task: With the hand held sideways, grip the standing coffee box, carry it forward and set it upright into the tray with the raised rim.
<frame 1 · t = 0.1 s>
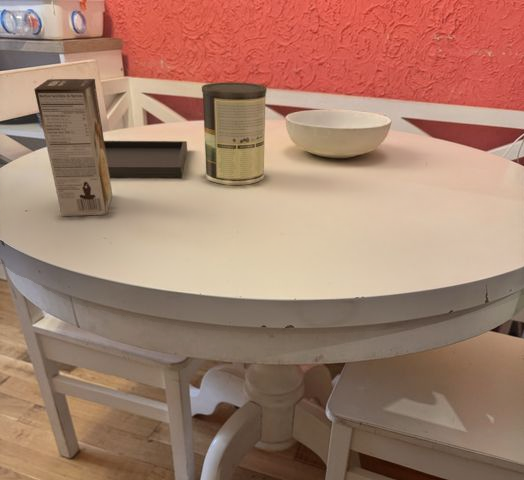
serving bowl: (334, 154, 103), on the table
coffee can: (235, 177, 87), on the table
tray: (137, 162, 93), on the table
coffee box: (88, 206, 73), on the table
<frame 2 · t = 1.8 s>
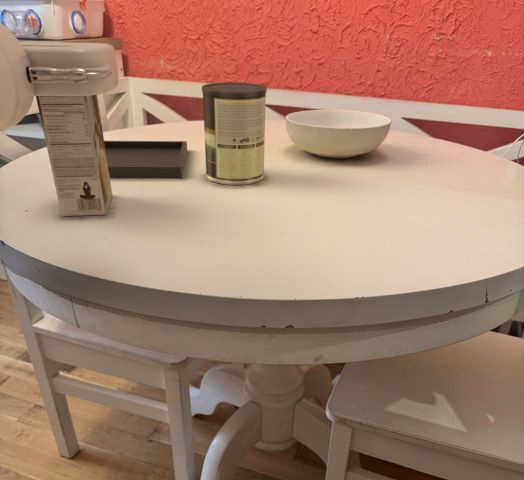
hand: (25, 59, 51), 20 cm above the table, tool horizontal, fingers open, 8 cm apart
nothing on the table moved.
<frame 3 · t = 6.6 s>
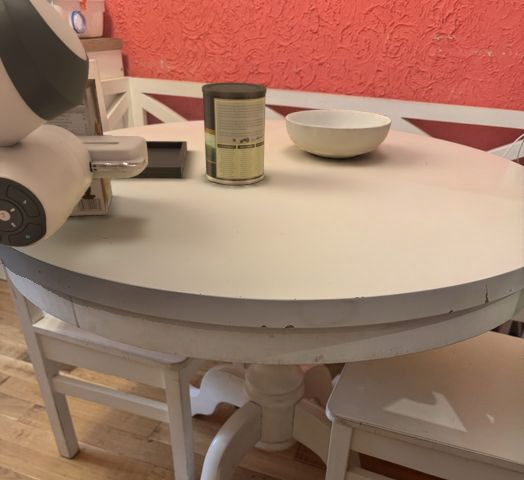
hand: (78, 140, 69), 9 cm above the table, tool horizontal, fingers closed on coffee box, 6 cm apart
coffee box: (88, 206, 73), on the table, touching gripper
everything else where it was.
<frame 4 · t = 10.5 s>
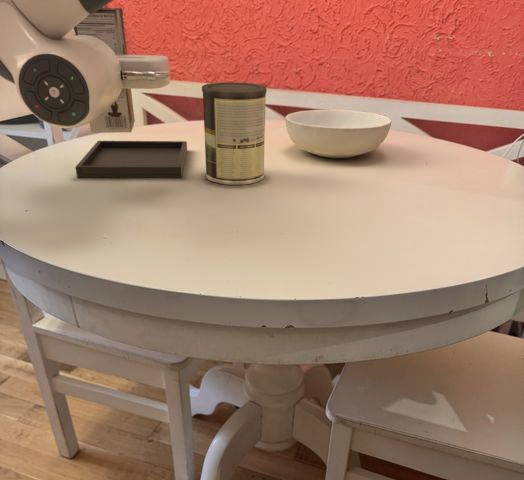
hand: (106, 64, 77), 17 cm above the table, tool horizontal, fingers closed on coffee box, 6 cm apart
coffee box: (114, 128, 81), point 8 cm above the table, touching gripper
everything else where it was.
when the fingers open (9 cm above the table, at t = 14.4 s): coffee box stays where it is, resting on tray.
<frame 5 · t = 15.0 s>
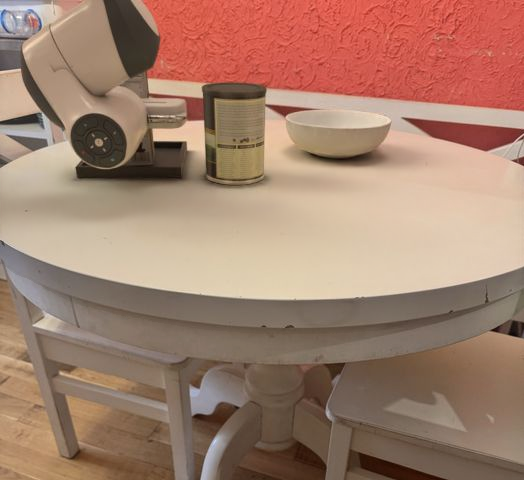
hand: (131, 104, 88), 10 cm above the table, tool horizontal, fingers open, 8 cm apart
coffee box: (137, 160, 93), resting on tray
everything else where it was.
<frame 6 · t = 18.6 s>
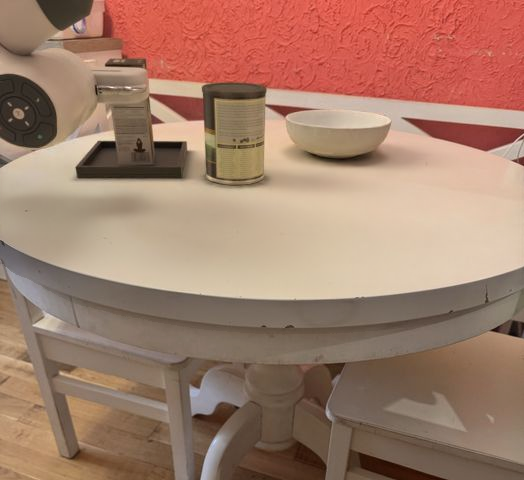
hand: (83, 76, 73), 16 cm above the table, tool horizontal, fingers open, 8 cm apart
nothing on the table moved.
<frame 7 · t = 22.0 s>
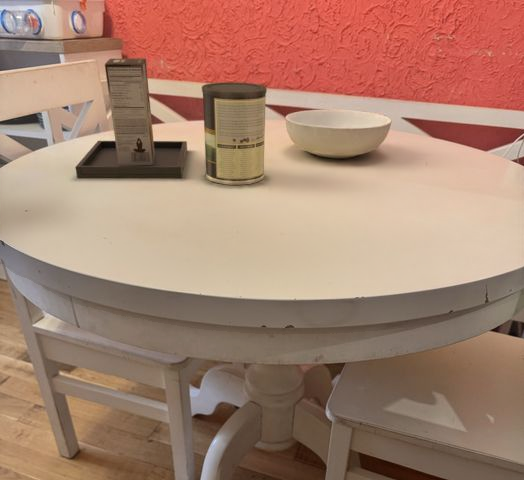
nothing on the table moved.
at the end: coffee box inside the target area in the tray (0.1 cm from its centre), point 0.4 cm above the tray's base; coffee box tilted 0°; the gripper is holding nothing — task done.
